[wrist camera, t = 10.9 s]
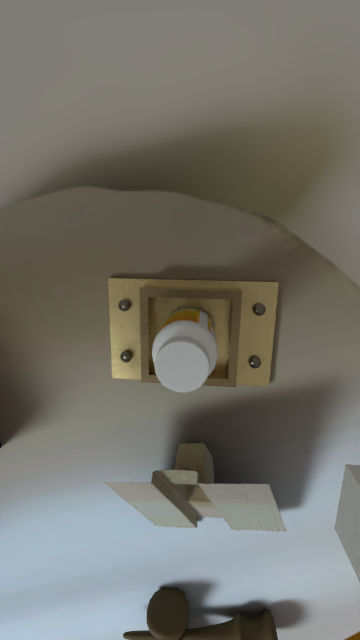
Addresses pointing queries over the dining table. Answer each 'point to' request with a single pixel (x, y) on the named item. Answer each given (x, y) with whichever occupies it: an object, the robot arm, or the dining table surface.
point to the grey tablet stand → (200, 495)
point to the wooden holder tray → (213, 298)
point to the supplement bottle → (185, 349)
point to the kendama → (172, 618)
